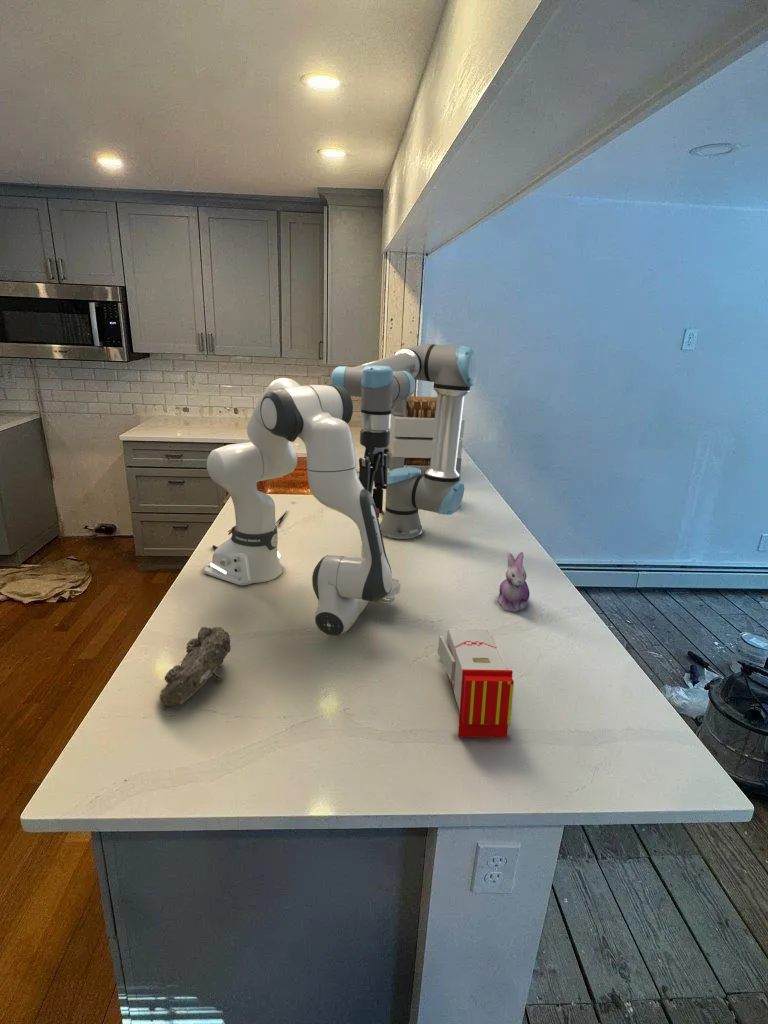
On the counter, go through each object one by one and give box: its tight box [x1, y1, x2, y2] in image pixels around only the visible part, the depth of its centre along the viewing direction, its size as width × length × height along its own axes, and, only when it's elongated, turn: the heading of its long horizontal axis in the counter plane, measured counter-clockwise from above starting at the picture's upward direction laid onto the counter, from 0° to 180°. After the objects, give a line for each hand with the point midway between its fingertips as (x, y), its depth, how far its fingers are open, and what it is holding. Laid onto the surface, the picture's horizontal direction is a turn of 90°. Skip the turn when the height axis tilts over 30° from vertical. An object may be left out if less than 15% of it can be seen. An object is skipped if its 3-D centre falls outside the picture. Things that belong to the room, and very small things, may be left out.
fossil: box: [159, 626, 232, 707], centre depth 118 cm, size 22×10×15 cm
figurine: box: [497, 551, 530, 612], centre depth 152 cm, size 9×10×15 cm
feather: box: [275, 510, 288, 528], centre depth 213 cm, size 2×28×2 cm
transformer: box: [384, 395, 465, 481], centre depth 268 cm, size 34×33×41 cm
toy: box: [437, 628, 515, 738], centre depth 117 cm, size 12×13×30 cm
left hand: (370, 572), depth 156 cm, fingers closed on bottle, 5 cm apart
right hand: (372, 516), depth 150 cm, fingers open, 6 cm apart
